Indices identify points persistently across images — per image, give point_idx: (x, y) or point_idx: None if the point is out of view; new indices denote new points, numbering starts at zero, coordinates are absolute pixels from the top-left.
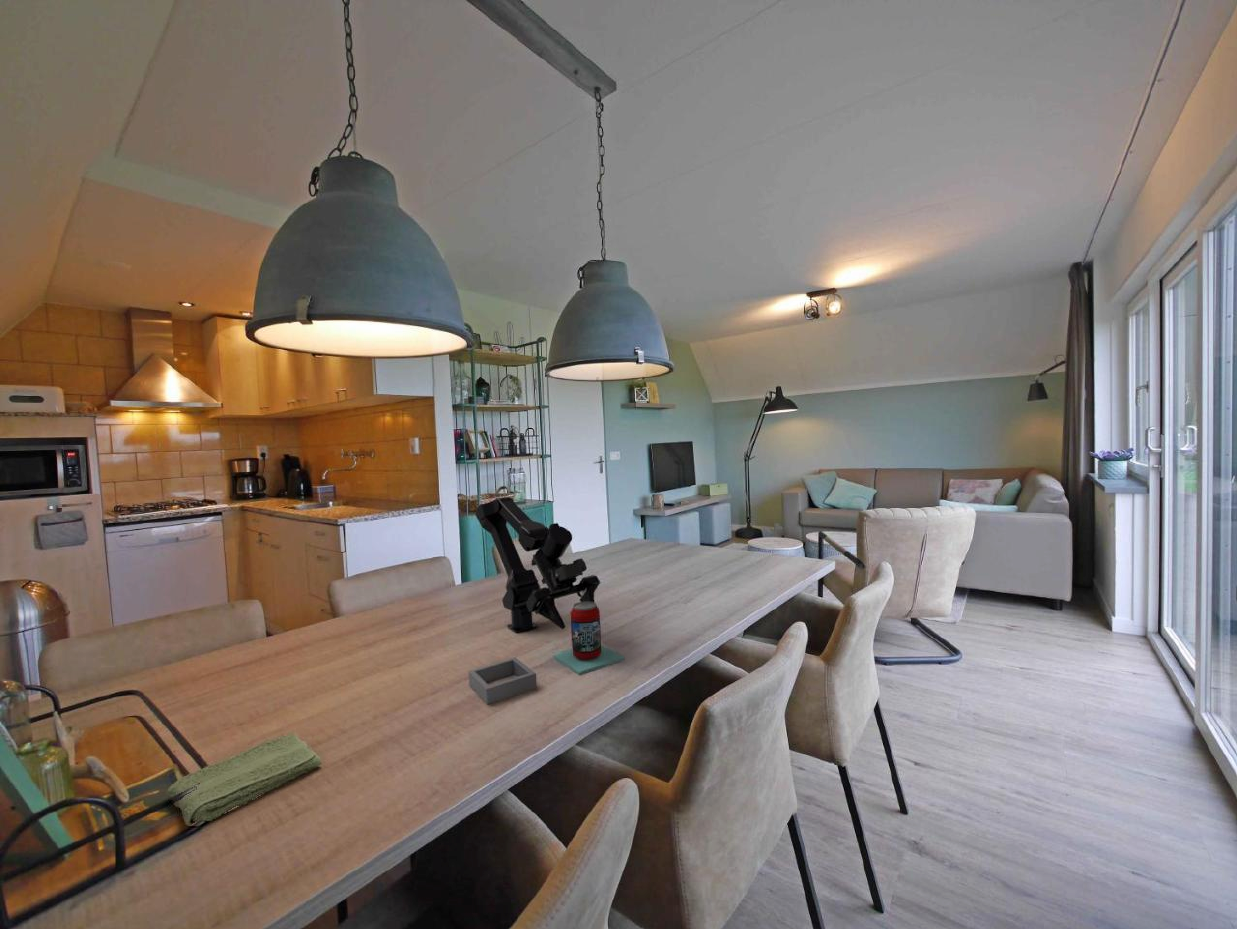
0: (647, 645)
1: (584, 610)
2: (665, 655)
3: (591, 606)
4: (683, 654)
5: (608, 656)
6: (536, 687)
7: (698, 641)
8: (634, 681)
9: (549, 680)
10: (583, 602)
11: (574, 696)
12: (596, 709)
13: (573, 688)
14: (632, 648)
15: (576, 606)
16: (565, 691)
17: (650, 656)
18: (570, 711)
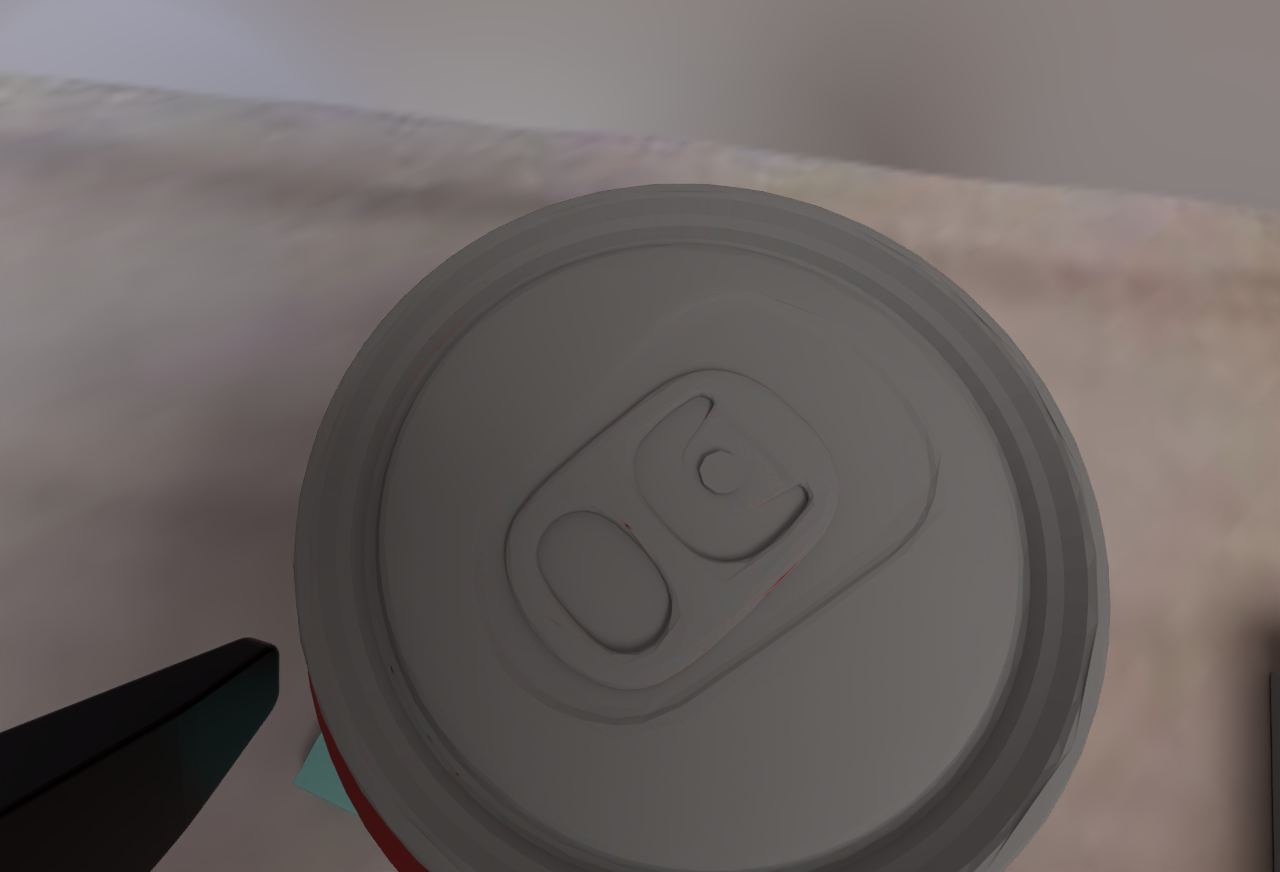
0: (223, 346)
1: (951, 321)
2: (368, 185)
3: (666, 279)
4: (322, 114)
5: None
6: (1274, 674)
7: (85, 110)
8: (772, 186)
9: (1125, 666)
10: (407, 766)
11: (1127, 363)
12: (1122, 202)
13: (1069, 427)
14: (311, 416)
15: (910, 721)
16: (1133, 447)
17: (415, 250)
18: (1240, 291)
